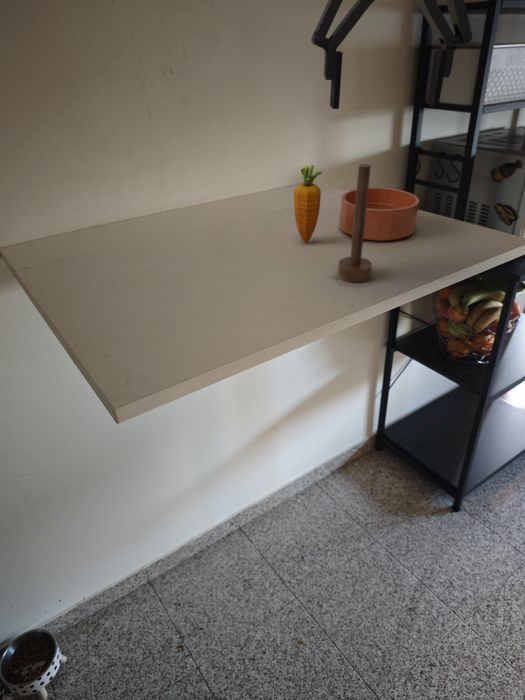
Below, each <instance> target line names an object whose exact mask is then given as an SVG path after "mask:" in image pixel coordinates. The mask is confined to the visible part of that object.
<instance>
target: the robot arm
mask: <svg viewBox="0 0 525 700" xmlns="http://www.w3.org/2000/svg"><path fill="white" fill-rule="evenodd" d="M343 1H344V0H327V3H326V5H325V7H324V9H323V11H322V14H321V15H320V18H319V19H318V22H317V25H316V27H315V29H314V31H313V34H312V36H311V38H310V42H311V44H312V45H314V46H317V47H318V48H321V49H322V50H323V52H324V62H323V63H324V65H323V77H324V79H325V81H330V95H329V107H330V108H331V109H332V110H340V100H341V99H340V98H341V84H342V68H343V67H342V66H343V55H344V54H343V53H344V52H343V51H339V50H338V48H339V47H340V45H341V44H342V43H343V41H344V40H345V38H347V36H348V35H349V33H350V32H351V31H352V30H353V29H354V27H355V26H356V24H357V23H358V22H359V21H360V19H361V18H362V17H363V15H364V14H365V13H366V12H367V10H368V9H369V7H370V6H371V5H372V4H373V3H374V2H375V1H376V0H356V1H355V3H354V4H352V5H353V6H352V7H351V8H350V9H349V10H348V12H347V13H346V15H345V16H344V17H343V19H342V20H341V21H340V22H339V24H338V25H337V27H336V28H335V29H334V31H333V32H332V33H331V34H330V36H329V37H327V35H328V33H329V30H330V29H331V26H332V24H333V23H334V20H335V18H336V15H337V14H338V11H339V10H340V7H341V4H342V2H343ZM414 1H415V2H416V4H417V5H418V7H419V8H420V10H421V12H422V14H423V16H424V18H425V19H426V21H427V24H428V25H429V26H430V28H431V30H432V31H433V34H434V35H435V38H436V39H437V41H438V43H439V45H440V46H441V49H440V48H437V49H435V48H434V52H433V56H432V57H433V59H432V64H431V70H430V71H431V72H430V77H429V84H428V91H427V97H426V105H428V106H431V107H435V108H436V107H440V100H441V96H442V95H441V94H442V90H443V89H442V88H443V82H444V78H449V77H450V75H451V73H452V67H453V63H454V57H455V51H456V50H457V49H458V48H459V47H460V46H463V45H465V44H469V43H470V42H472V39H473V33H472V32H473V31H472V28H471V24H470V20H469V19H470V18H469V15H468V11H467V10H468V9H467V6H466V2H465V0H445V2H446V5H447V9H448V14H449V18H450V22H451V27H452V28H451V27H450V25H449V23H448V21H447V19H446V17H445V15H444V14H443V12H442V9H441V8H440V6H439V4H438V2H437V1H436V0H414Z"/></svg>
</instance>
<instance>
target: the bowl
mask: <svg viewBox="0 0 525 700" xmlns="http://www.w3.org/2000/svg"><path fill="white" fill-rule="evenodd" d="M356 191H357V188H354V189H349V190H348V191H345V192H344V193H343V194H342V195H341V196H340V206H339V218H338V219H339V221H338V222H339V223H338V225H339V229H340V230H341V231H343V232H344V233H345V234H348V235H350V236H352V235H353V224H354V213H355V202H356ZM419 206H420V199H419V197H418V195H416V194H413V193H412V192H408V191H405V190H402V189H397V188H391V187H380V186H379V187H378V186H377V187H375V186H373V187H369V188H368V198H367V207H366V217H365V227H364V236H363V240H366V241H376V242H388V241H395V240H400V239H403V238H406V237H410V235H412V234H413V233H415V230H416V224H417V218H418V212H419Z"/></svg>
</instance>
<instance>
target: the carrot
mask: <svg viewBox="0 0 525 700" xmlns="http://www.w3.org/2000/svg"><path fill="white" fill-rule="evenodd" d="M314 169H315V165H314V164H310V166H309V165H305V166H304V167H301V168H300V172H301V175H302V179H303V183H300V184H299V185H297V186H296V187H295V188H294V191H293V195H294V196H293V206H294V209H293V210H294V216H295V217H294V218H295V223H296V229H297V231H298V234H299V237H300V238H301V241H302V242H303V243H304V244H307V243H309V241H310V240H311V238H312V236H313V235H314V232H315V229H316V227H317V223H318V219H319V215H320V209H321V208H320V206H321V197H322V192H321V188H320V187H319V186H318V185H317V184H315V183H314V181H315V179H316V178H318V176H319V175H321V174H323V172H322V171H321V170H320V169H319V170H317V171H315V172H314Z"/></svg>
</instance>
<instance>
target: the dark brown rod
mask: <svg viewBox="0 0 525 700" xmlns="http://www.w3.org/2000/svg"><path fill="white" fill-rule="evenodd" d="M371 169H372V166H371V164H367V163H360V164H359V165H358V170H357V171H358V172H357V181H356V189H357V191H356V202H355V213H354V224H353V235H351V236H352V237H351V247H350V249H351V250H350V256H347V257H343V258H341V259H340V260H338V265H337V266H338V267H337V276H338V279H340V280H341V281H343V282H345V283H350V284H361V283H366V282H368V281H370V280H371V277H372V269H373V263H372V261H371V260H369V259H367V258H365V257H362V255H363V245H364V239H363V236H364V227H365V217H366V207H367V198H368V188H370V179H371V178H370V177H371Z"/></svg>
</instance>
